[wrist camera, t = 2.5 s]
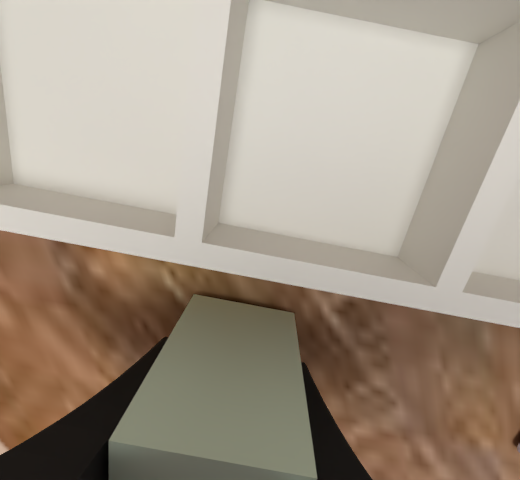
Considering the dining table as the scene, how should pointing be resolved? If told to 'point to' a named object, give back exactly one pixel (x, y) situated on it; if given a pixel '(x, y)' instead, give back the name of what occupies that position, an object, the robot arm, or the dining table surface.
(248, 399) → the pale green block
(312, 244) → the white compartment tray
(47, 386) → the dining table surface
